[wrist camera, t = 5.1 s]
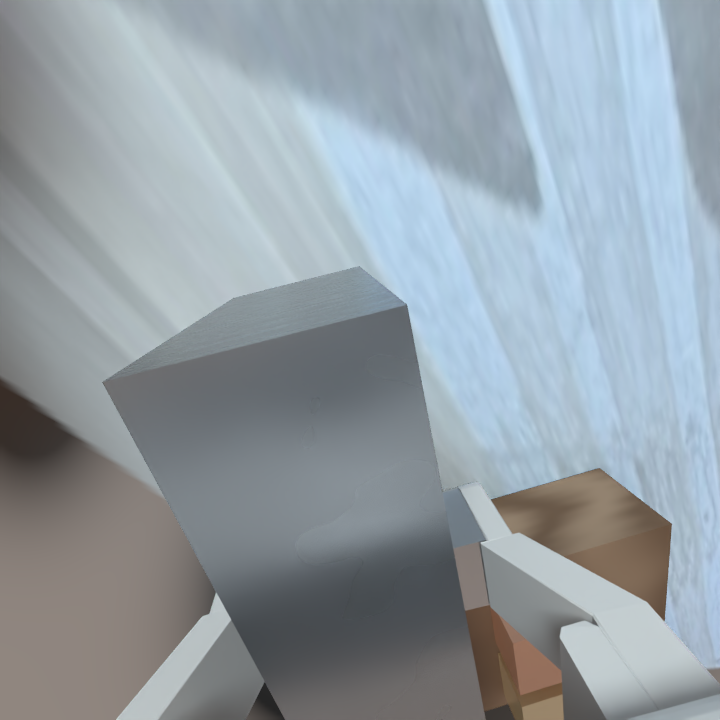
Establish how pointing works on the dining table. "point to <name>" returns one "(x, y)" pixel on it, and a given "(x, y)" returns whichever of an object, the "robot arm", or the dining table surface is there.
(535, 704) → the tile ochre
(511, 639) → the tile terracotta
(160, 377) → the grey stone brick
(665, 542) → the brown wooden block
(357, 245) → the dining table surface
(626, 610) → the robot arm
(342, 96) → the dining table surface
